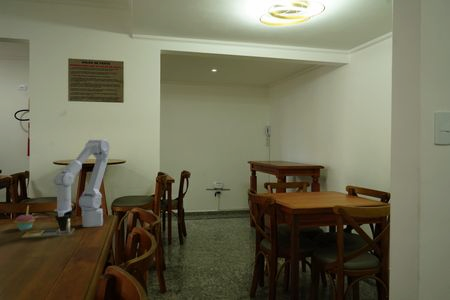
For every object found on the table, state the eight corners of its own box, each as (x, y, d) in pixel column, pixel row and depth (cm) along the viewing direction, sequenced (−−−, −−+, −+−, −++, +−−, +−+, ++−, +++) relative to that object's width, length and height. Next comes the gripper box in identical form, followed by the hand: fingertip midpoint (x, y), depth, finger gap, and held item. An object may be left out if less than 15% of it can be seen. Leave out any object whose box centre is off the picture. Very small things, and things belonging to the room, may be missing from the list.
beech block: (70, 231, 150) (70, 218, 150) (68, 233, 146) (68, 220, 146) (60, 231, 149) (60, 218, 149) (58, 234, 145) (58, 221, 145)
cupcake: (39, 227, 160) (38, 203, 160) (27, 231, 152) (26, 206, 151) (22, 227, 161) (22, 203, 160) (10, 231, 152) (9, 206, 152)
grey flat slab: (75, 231, 153) (75, 228, 153) (71, 236, 144) (71, 233, 144) (27, 234, 147) (27, 231, 147) (20, 240, 138) (20, 237, 138)
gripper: (58, 197, 153) (58, 225, 153) (50, 202, 139) (50, 233, 139) (74, 196, 155) (74, 224, 155) (68, 201, 141) (68, 232, 141)
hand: (64, 228), depth 147 cm, fingers open, 6 cm apart
